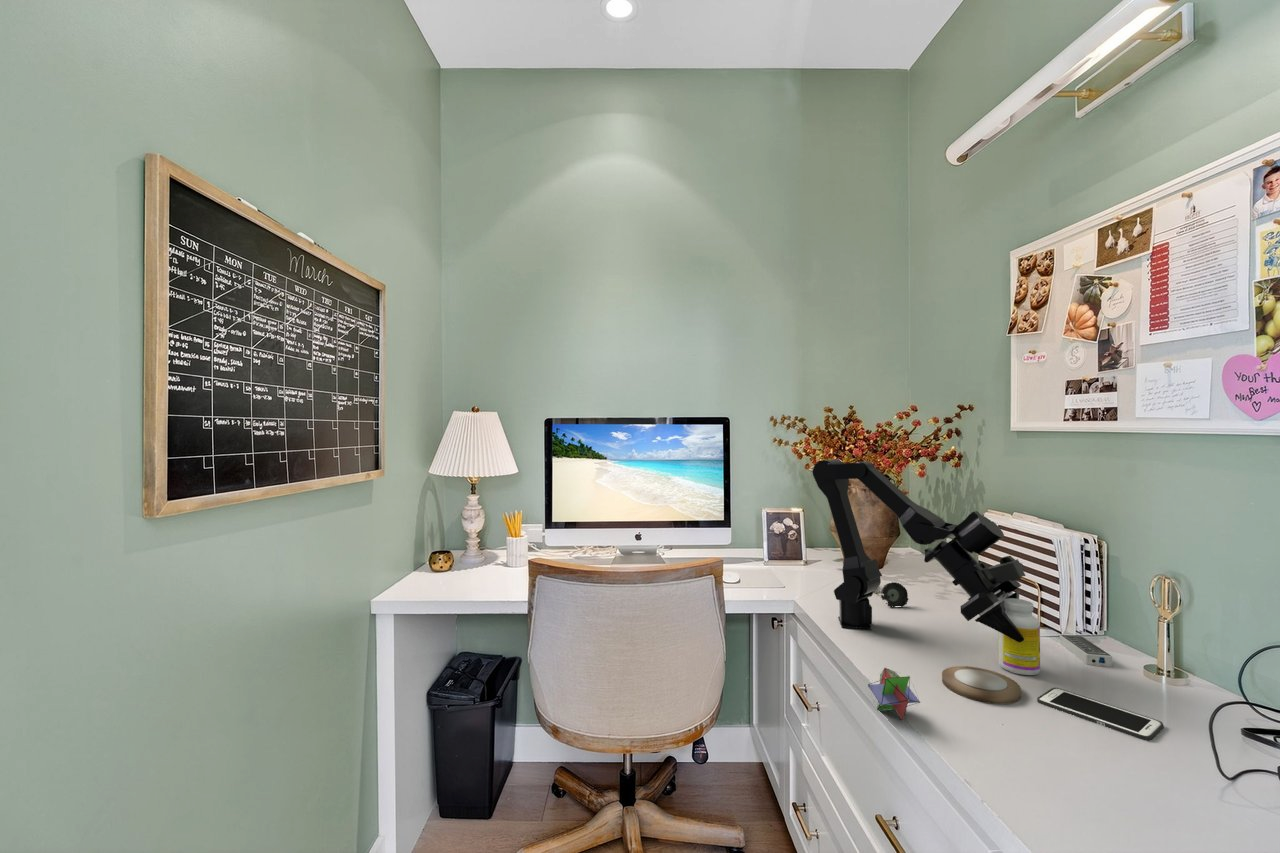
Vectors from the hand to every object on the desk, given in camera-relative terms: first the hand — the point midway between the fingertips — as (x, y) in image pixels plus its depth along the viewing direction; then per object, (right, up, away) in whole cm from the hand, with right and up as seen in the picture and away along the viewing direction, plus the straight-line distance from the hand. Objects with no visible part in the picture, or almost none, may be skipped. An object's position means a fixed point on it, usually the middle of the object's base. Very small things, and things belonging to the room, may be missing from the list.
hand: (1027, 636), depth 106 cm
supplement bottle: (-1, -7, +1) cm, 7 cm away
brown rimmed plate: (-13, -7, -7) cm, 16 cm away
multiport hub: (+17, -7, +8) cm, 20 cm away
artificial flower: (-10, -7, +49) cm, 50 cm away
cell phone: (0, -7, -16) cm, 17 cm away
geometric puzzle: (-32, -7, -15) cm, 36 cm away
